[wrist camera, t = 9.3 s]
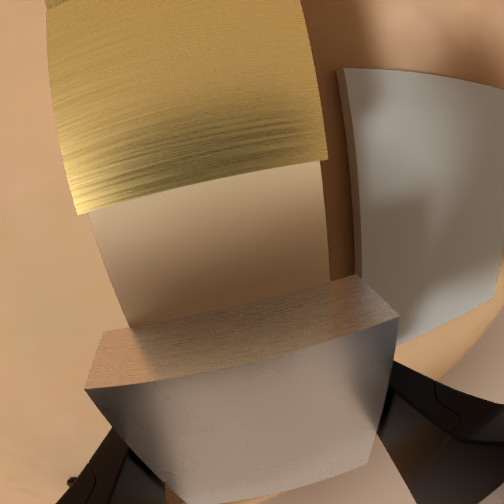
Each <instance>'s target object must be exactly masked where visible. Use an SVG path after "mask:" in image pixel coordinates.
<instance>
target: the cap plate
mask: <svg viewBox="0 0 504 504" xmlns="http://www.w3.org/2000/svg"><path fill="white" fill-rule="evenodd" d="M399 319H400V315H399V314H398V313H396V312H395V311H394V310H393V309H392V308H391V307H390V306H389V305H388V304H387V303H386V302H385V301H384V300H383V299H382V298H381V297H380V296H379V295H378V294H377V293H376V292H375V291H374V290H373V289H372V288H371V287H370V286H369V285H367V284H366V283H365V282H364V281H363V280H362V279H361V278H360V277H359V276H358V275H357V274H356V275H352V276H348V277H345V278H341V279H338V280H334V281H330V282H327V283H323V284H319V285H316V286H312V287H308V288H304V289H300V290H296V291H292V292H289V293H285V294H281V295H277V296H273V297H269V298H264V299H260V300H256V301H252V302H248V303H244V304H239V305H235V306H231V307H226V308H222V309H217V310H213V311H208V312H204V313H199V314H195V315H190V316H185V317H180V318H176V319H171V320H166V321H161V322H156V323H151V324H146V325H140V326H135V327H130V328H124V329H119V330H113V331H108V332H103V335H102V338H101V340H100V343H99V346H98V349H97V352H96V354H95V357H94V360H93V363H92V366H91V369H90V372H89V375H88V379H87V382H86V385H85V388H84V390H85V391H86V392H87V394H88V395H89V397H90V398H91V399H92V401H93V402H94V404H95V405H96V406H97V408H98V409H99V410H100V412H101V413H102V414H103V415H104V417H105V418H106V419H107V421H108V422H109V423H110V424H111V426H112V427H113V428H114V429H115V430H116V432H117V433H118V434H119V435H120V436H121V438H122V439H123V440H124V441H125V442H126V443H127V445H128V446H129V447H130V448H131V449H132V450H133V451H134V452H135V454H136V455H137V456H138V457H139V458H140V459H141V460H142V461H143V462H144V463H145V464H146V465H147V466H148V467H149V468H150V469H151V470H152V471H153V472H154V473H155V474H156V475H157V476H158V477H159V478H160V479H161V480H162V481H163V482H164V483H165V484H166V485H167V486H168V487H169V488H170V489H171V490H172V491H173V492H175V493H176V494H177V495H178V496H179V497H180V498H181V499H182V500H184V501H185V502H186V503H187V504H221V503H228V502H234V501H240V500H246V499H252V498H257V497H261V496H266V495H271V494H275V493H279V492H283V491H287V490H291V489H295V488H298V487H302V486H305V485H309V484H312V483H315V482H318V481H322V480H324V479H328V478H330V477H333V476H336V475H339V474H341V473H344V472H347V471H350V470H352V469H355V468H357V467H360V466H362V465H365V464H367V461H368V458H369V455H370V452H371V449H372V446H373V442H374V439H375V436H376V432H377V429H378V425H379V421H380V417H381V414H382V410H383V406H384V401H385V397H386V393H387V388H388V384H389V379H390V374H391V369H392V364H393V358H394V352H395V347H396V340H397V334H398V327H399Z"/></svg>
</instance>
